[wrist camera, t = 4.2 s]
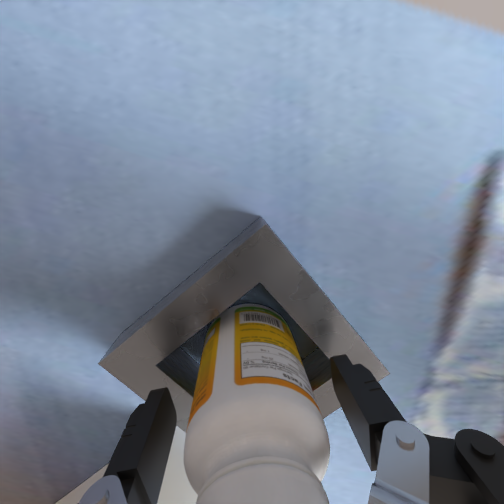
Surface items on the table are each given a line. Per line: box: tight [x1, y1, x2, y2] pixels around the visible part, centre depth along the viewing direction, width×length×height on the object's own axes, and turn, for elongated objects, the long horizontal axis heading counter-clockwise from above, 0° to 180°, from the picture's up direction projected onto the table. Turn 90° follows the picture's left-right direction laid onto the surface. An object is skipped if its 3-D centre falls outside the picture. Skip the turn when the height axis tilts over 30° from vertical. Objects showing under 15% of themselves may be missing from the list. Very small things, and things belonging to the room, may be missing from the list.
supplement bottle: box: [184, 304, 330, 504], centre depth 11 cm, size 5×5×10 cm
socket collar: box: [98, 217, 390, 433], centre depth 15 cm, size 11×11×2 cm
